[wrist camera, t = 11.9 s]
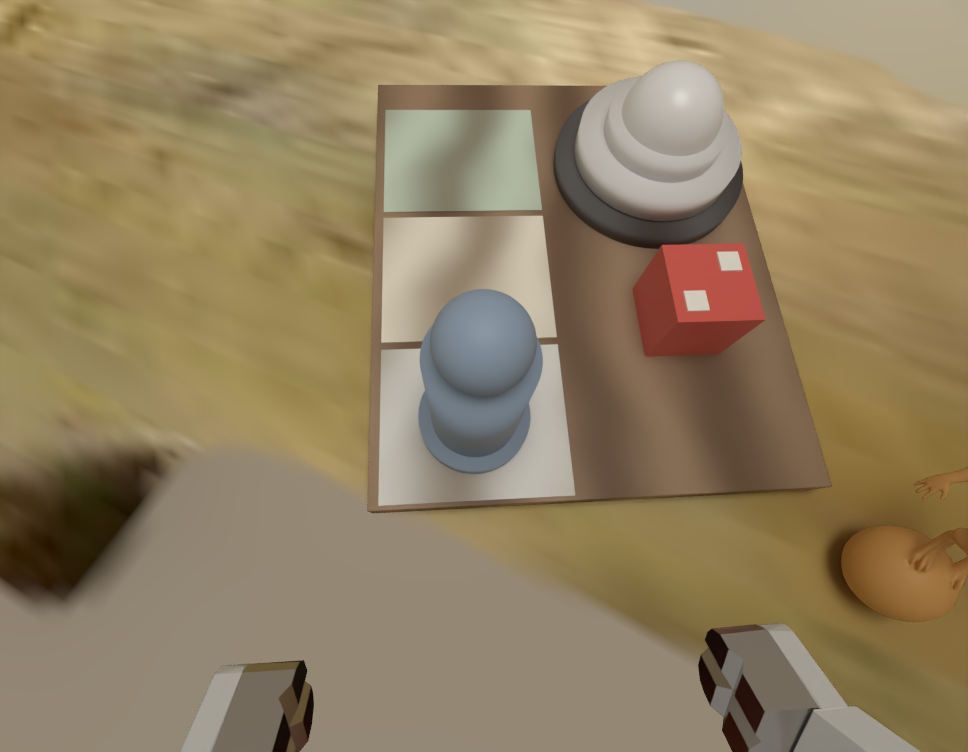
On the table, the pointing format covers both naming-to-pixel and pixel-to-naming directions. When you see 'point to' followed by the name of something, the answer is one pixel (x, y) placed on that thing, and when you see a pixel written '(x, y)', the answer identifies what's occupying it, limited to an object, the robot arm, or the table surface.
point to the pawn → (478, 381)
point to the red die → (696, 299)
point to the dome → (659, 143)
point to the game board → (562, 316)
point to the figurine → (907, 565)
